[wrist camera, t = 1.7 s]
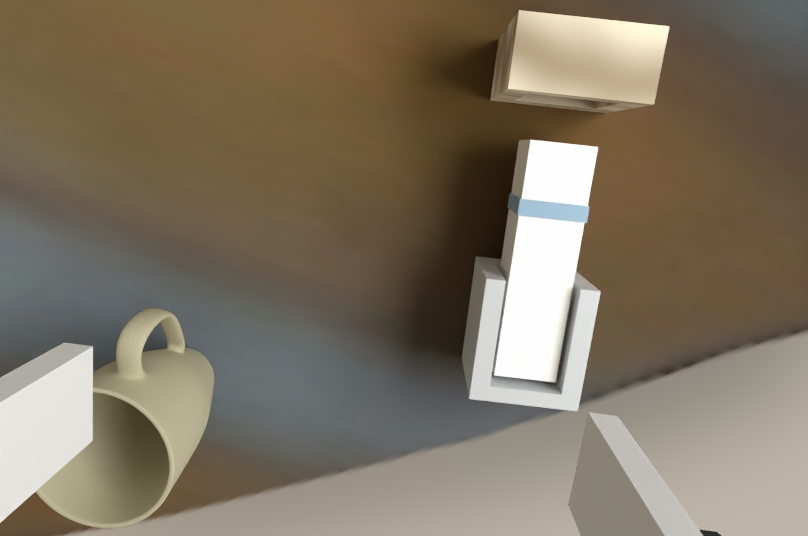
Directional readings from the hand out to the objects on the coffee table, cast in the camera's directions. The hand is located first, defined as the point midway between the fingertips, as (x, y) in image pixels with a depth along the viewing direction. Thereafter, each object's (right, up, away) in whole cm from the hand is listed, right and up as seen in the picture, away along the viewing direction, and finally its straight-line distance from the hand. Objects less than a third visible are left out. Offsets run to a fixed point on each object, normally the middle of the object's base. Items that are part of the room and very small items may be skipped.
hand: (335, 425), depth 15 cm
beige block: (+12, +17, +23) cm, 31 cm away
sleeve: (+10, +1, +27) cm, 29 cm away
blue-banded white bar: (+11, +5, +24) cm, 26 cm away
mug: (-15, -3, +29) cm, 33 cm away
